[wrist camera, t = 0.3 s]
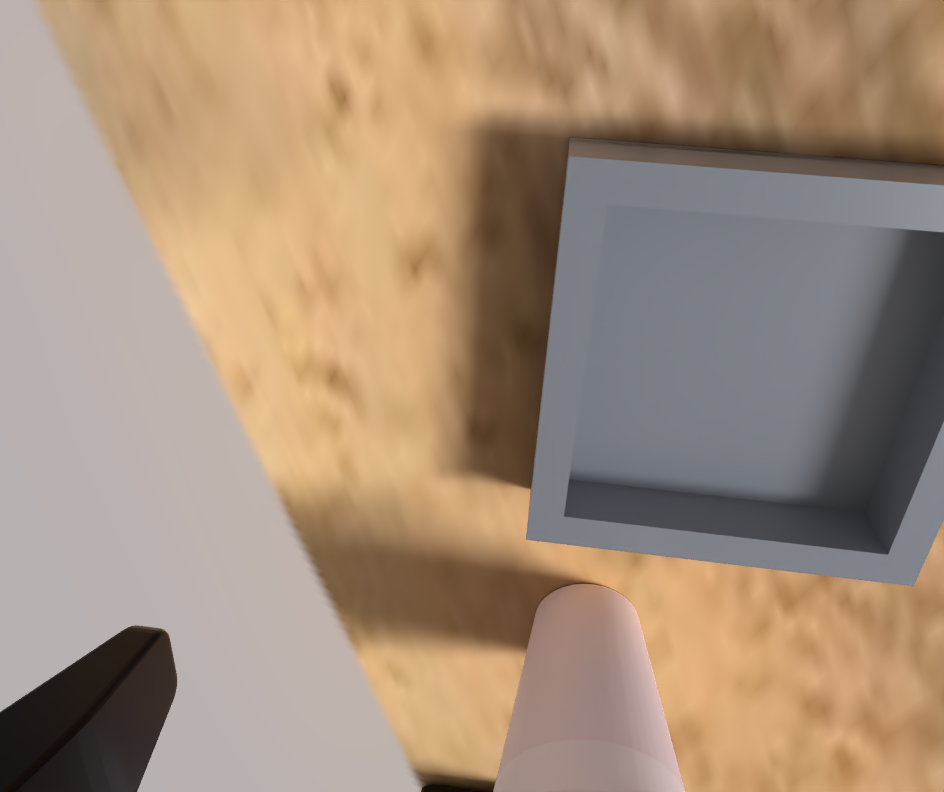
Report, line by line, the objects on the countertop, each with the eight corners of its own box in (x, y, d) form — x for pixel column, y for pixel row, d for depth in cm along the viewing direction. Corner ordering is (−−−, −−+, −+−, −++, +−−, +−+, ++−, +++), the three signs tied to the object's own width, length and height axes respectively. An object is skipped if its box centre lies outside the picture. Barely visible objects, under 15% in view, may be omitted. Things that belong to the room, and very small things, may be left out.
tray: (882, 530, 23) (913, 586, 21) (530, 490, 24) (526, 539, 22) (1026, 171, 18) (1088, 196, 16) (569, 136, 19) (568, 155, 17)
